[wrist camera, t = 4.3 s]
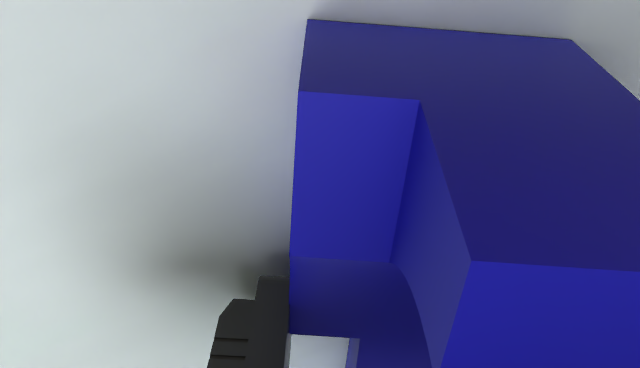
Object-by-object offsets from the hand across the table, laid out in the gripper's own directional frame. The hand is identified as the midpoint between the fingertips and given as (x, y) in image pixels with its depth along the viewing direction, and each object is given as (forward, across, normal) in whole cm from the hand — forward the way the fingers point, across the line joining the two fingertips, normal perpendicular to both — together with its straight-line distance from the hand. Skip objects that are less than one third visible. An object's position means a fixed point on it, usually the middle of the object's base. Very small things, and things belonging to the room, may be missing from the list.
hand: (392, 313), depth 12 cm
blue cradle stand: (+1, 0, 0) cm, 1 cm away
